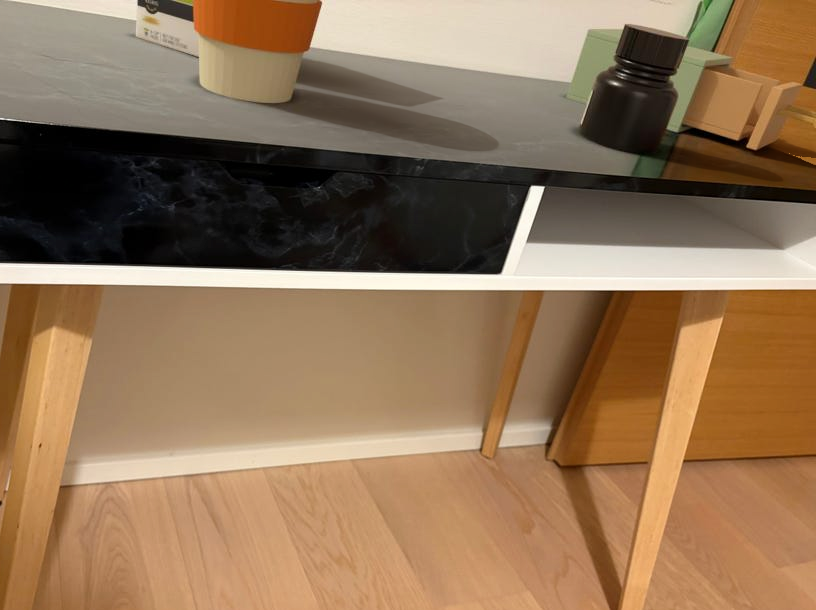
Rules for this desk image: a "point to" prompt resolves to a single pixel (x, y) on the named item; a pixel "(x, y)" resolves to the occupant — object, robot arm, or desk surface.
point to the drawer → (744, 105)
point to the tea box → (168, 24)
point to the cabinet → (600, 58)
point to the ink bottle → (635, 92)
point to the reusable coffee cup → (253, 46)
